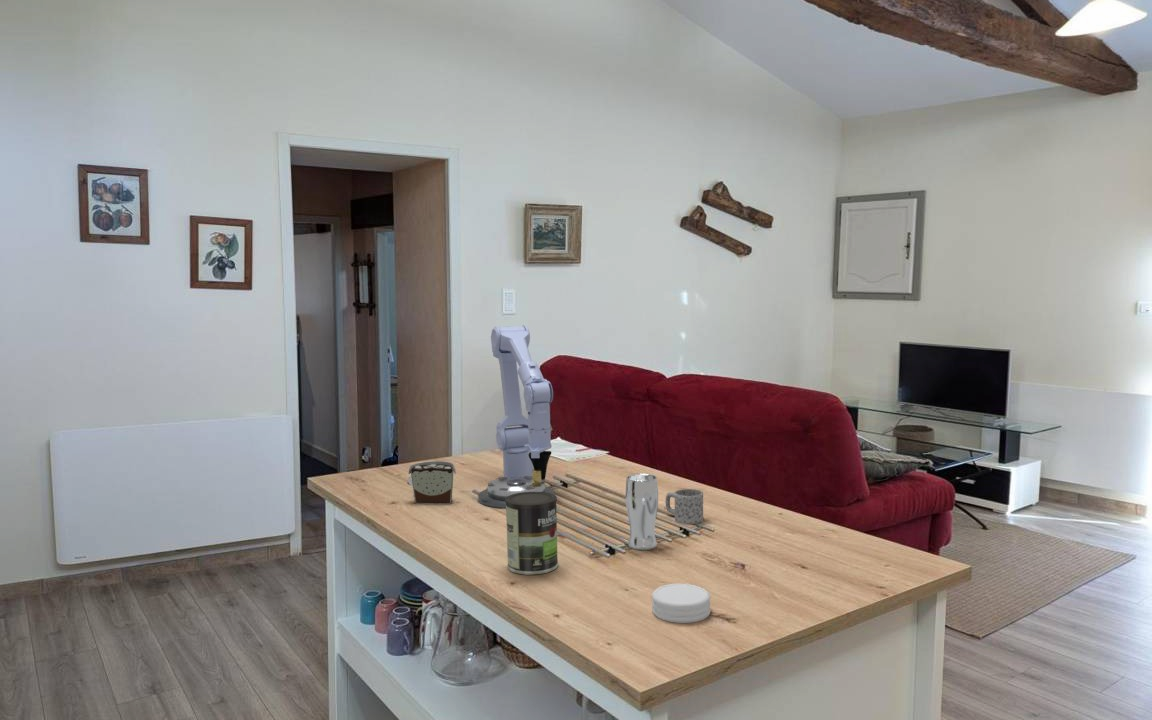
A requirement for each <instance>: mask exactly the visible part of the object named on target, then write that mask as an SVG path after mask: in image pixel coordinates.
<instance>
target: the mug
mask: <svg viewBox="0 0 1152 720" xmlns="http://www.w3.org/2000/svg"><path fill="white" fill-rule="evenodd" d="M671 498H673V499H674V508H672V507H671ZM665 509H666V511H667V512H668V513H670V514H672V515H674V522H676V523H678V524H683V525H697V524H701V523H702V522H704V492H703V491H702V490H700V489H696V488H695V489H694V488H684V489H683V488H681V489H678V490H675V491H674V492H668V493H666V495H665Z"/></svg>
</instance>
